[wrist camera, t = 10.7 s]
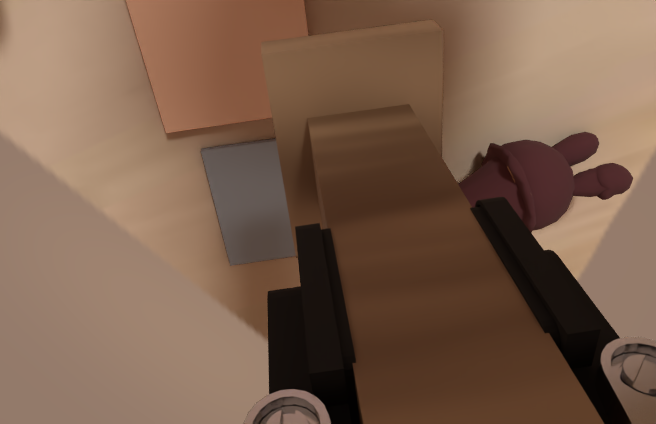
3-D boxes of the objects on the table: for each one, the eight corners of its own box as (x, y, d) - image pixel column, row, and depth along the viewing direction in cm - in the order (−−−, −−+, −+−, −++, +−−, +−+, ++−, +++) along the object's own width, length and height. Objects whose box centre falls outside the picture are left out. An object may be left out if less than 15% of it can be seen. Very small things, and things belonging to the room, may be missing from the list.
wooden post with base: (261, 42, 16) (264, 388, 5) (432, 19, 16) (749, 312, 6) (294, 237, 19) (332, 652, 9) (430, 217, 20) (616, 603, 9)
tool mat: (201, 148, 37) (200, 151, 37) (331, 130, 37) (332, 133, 37) (230, 262, 42) (230, 265, 42) (343, 245, 43) (344, 248, 42)
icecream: (432, 292, 38) (632, 225, 38) (426, 227, 32) (660, 149, 33) (399, 221, 42) (577, 162, 43) (389, 153, 37) (594, 86, 37)
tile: (289, -101, 30) (110, -77, 30) (291, -100, 29) (103, -74, 28) (316, 102, 37) (169, 124, 36) (318, 110, 35) (165, 133, 35)
